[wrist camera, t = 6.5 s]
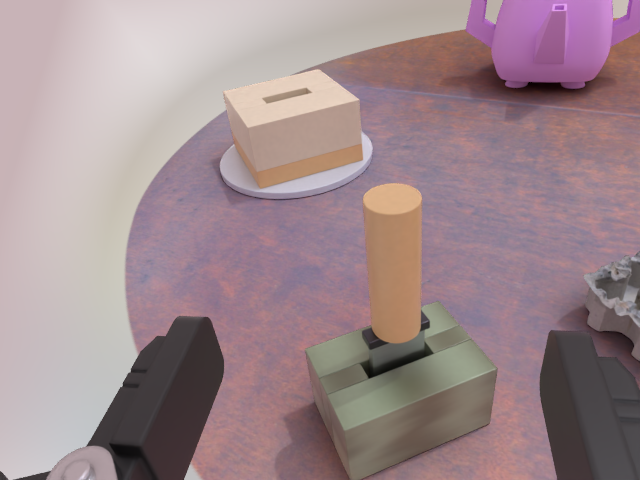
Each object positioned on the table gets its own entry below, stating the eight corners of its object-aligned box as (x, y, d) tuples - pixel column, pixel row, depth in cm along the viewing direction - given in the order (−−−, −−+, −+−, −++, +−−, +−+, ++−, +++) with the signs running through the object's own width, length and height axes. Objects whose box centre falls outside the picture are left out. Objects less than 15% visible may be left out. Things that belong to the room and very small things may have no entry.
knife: (381, 440, 31) (367, 224, 21) (363, 406, 33) (343, 195, 23) (435, 418, 31) (443, 199, 22) (414, 386, 33) (413, 174, 24)
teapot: (542, 46, 84) (557, -60, 75) (648, 73, 70) (681, -53, 61) (448, 77, 78) (452, -35, 69) (545, 112, 64) (565, -21, 55)
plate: (192, 191, 57) (190, 185, 57) (259, 124, 71) (258, 118, 70) (347, 206, 52) (346, 199, 51) (388, 129, 65) (388, 123, 64)
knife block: (351, 484, 29) (343, 430, 26) (314, 401, 33) (304, 348, 30) (490, 423, 31) (498, 368, 28) (436, 353, 35) (438, 300, 32)
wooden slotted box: (260, 189, 55) (247, 127, 51) (234, 146, 64) (222, 91, 60) (363, 160, 57) (359, 99, 53) (324, 123, 67) (318, 68, 63)
